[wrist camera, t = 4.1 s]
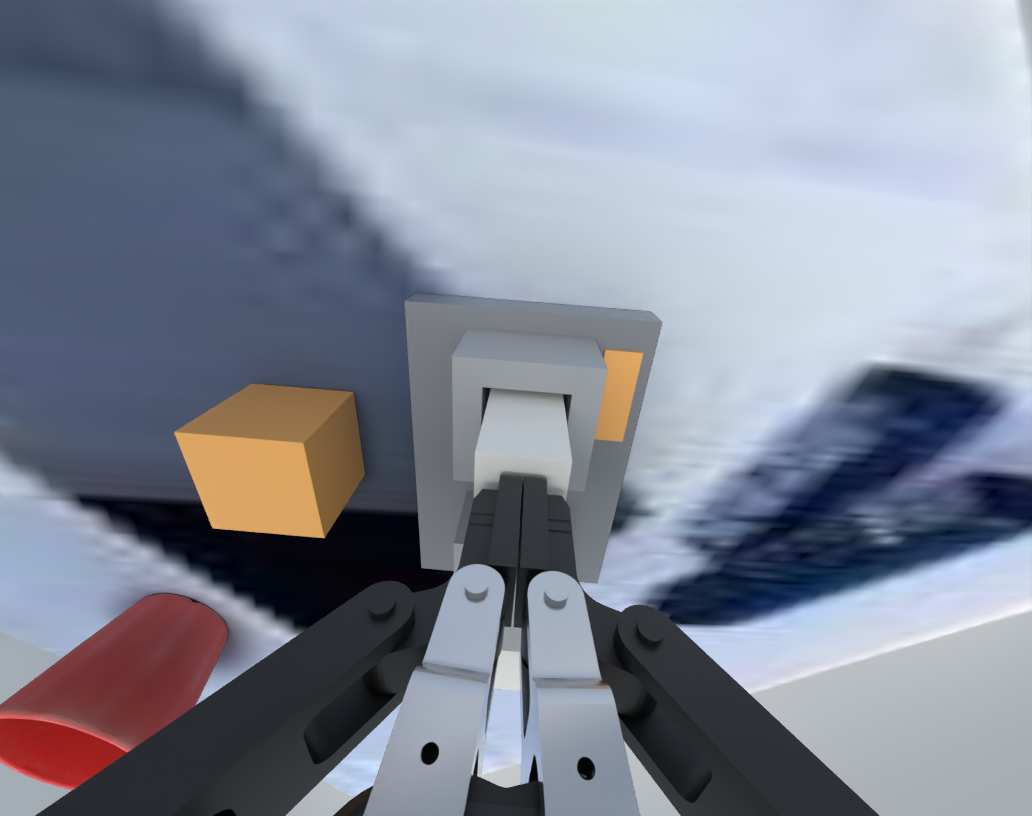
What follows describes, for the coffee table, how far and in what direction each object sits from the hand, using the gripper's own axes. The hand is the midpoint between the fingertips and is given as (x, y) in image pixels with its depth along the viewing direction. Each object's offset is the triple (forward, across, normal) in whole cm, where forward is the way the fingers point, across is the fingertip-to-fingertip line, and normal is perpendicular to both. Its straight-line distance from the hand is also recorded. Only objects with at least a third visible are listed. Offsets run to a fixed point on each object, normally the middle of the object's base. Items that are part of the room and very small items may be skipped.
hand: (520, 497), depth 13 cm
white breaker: (+5, 0, 0) cm, 6 cm away
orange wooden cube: (+10, +13, +5) cm, 17 cm away
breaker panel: (+10, 0, +5) cm, 11 cm away
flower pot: (+10, +28, +26) cm, 40 cm away
